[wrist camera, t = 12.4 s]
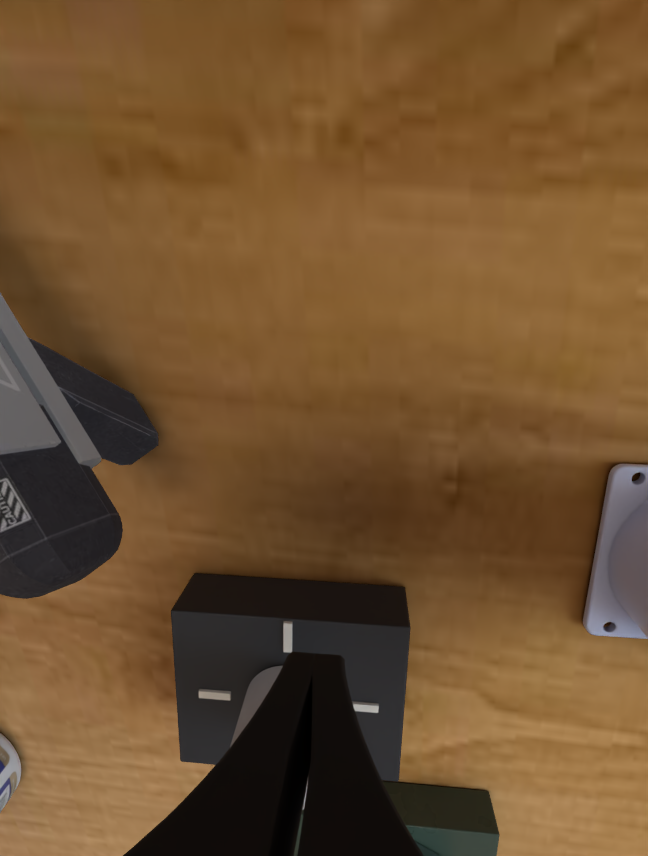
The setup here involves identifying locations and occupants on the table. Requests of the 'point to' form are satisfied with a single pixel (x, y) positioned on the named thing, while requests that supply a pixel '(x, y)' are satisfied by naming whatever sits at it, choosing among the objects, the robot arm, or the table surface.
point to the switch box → (444, 819)
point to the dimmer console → (271, 644)
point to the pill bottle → (8, 770)
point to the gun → (58, 463)
